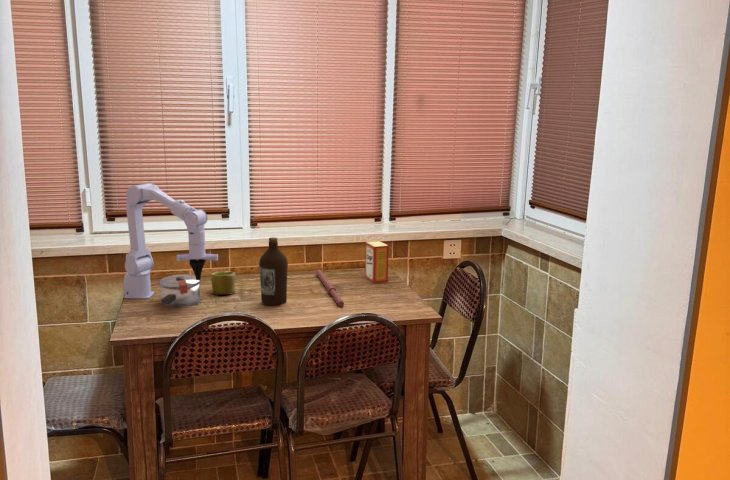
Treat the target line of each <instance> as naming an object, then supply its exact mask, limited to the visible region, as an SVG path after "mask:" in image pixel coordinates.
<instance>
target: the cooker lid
mask: <svg viewBox="0 0 730 480" xmlns="http://www.w3.org/2000/svg"><path fill="white" fill-rule="evenodd" d="M199 283H200V284H201V279H200V280H196V277H195V274H187V273H184V274H183V273H182V274H173V275H167V276H164V277H162V278H161V279H160V280H159V284H160V286H163V287H166V288H179V290H180V293H181V294H182V293H188V291H187V288H188V287H193V286H196V285H198V284H199Z"/></svg>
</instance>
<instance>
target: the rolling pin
mask: <svg viewBox="0 0 730 480" xmlns="http://www.w3.org/2000/svg"><path fill="white" fill-rule="evenodd" d="M315 273H316V275H317V277H318V278H319V279H320V281H321V282H322V284H323V285H324V287H325V288H326V290H327V293H328V294H329V295H330V296H331V297H332V298H333V300H334V301H335V302H336V304H337V306H338V307H339V308H342V307H343V306H344V304H345V303H344V300H342V298H341V296H339V294H338V293H337V290H336V288H335V287H334V286H332V284H331V283H330V281H329V280H328V278H327V277H326V276H325V274H324V273H323V272H322V270H320V269H317V270H316V272H315Z"/></svg>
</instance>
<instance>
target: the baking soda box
mask: <svg viewBox="0 0 730 480" xmlns="http://www.w3.org/2000/svg"><path fill="white" fill-rule="evenodd" d="M364 255H365V257H364V258H365V263H364V264H365V265H364V266H365V267H364V278H366V279H368V280H369V281H370V282H372V283H374V284H375V283H384V282H388V279H389V278H388V277H389V245H388V244H386V243H384V242H382V241H381V240H376V241H365V254H364Z"/></svg>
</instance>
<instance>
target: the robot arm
mask: <svg viewBox="0 0 730 480" xmlns="http://www.w3.org/2000/svg"><path fill="white" fill-rule="evenodd" d="M125 194H126V196H125V197H126V202H125V209H126V218H127V226H128V236H129V246H130V250H129V251H128V253H127V254H126V255H125V263H124V270H125V271H126V273H125V274H124V276H123V293H124V296H123V298H124V299H141V300H142V299H144V300H145V299H150V297H152V296H153V295H154V294H155V291H153V290H152V285H151V283H152V282H151V272H152V269H153V268H154V266H155V263H154V259H153V257H152V252H151V251H150V250H149V249H148V248H147V246H146V238H145V237H146V235H145V228H144V227H145V226H144V216H143V207H144V206H146V204H147V203H149V202H152V201H155V202H156V203H159V204H160V205H163V206H164V207H165V208H168V209H170V213H171V214H172V215H174V216H176V217H177V218H178V219H181V220H182V221H183V222H184V225H185V226H186V231H187V232H188V233H187V234H188V236H187V237H188V253H184V254H177V255H176V262H180V261H189V266H190V267H191V269H192V271H193V273H194V274H193V275H195V277H196V280H200V281H201V278H202V272H203V268H204V265H205V263H206V261H219V254H217V253H216V254H215V253H206V233H205V225H206V224H207V223H208V215H207V213H206V212H205V210H204V209H202V208H199V209H197V208H196V207H194V206H191V205H189V204H188V203H186V201H185V200H183V199H177V200H175V199H174V198H172V197H171V196H169V195H168V194H166V192H164V191H163V190H161V189H160V188H159V186H158V185H155V184H154V183H153V182H147V183H142V184H137V185H135V184H134V185H133V184H132V185H130V187H128V188H127V189H126V191H125Z"/></svg>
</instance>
